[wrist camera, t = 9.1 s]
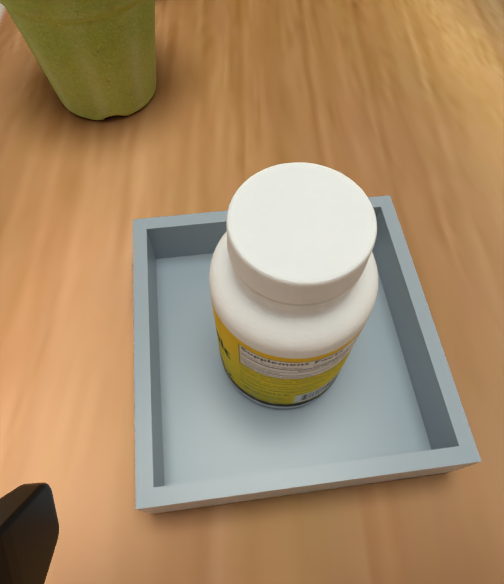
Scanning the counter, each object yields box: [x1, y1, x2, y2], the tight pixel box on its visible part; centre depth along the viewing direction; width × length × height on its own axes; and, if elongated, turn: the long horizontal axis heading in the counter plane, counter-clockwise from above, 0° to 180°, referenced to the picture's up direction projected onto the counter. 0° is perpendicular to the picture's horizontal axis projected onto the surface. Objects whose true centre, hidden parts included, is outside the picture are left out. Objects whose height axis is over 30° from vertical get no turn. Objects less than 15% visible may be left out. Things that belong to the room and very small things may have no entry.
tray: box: [133, 196, 481, 514], centre depth 20 cm, size 12×12×3 cm
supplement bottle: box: [209, 163, 378, 408], centre depth 16 cm, size 5×5×10 cm
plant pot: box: [0, 0, 157, 120], centre depth 26 cm, size 9×9×9 cm
